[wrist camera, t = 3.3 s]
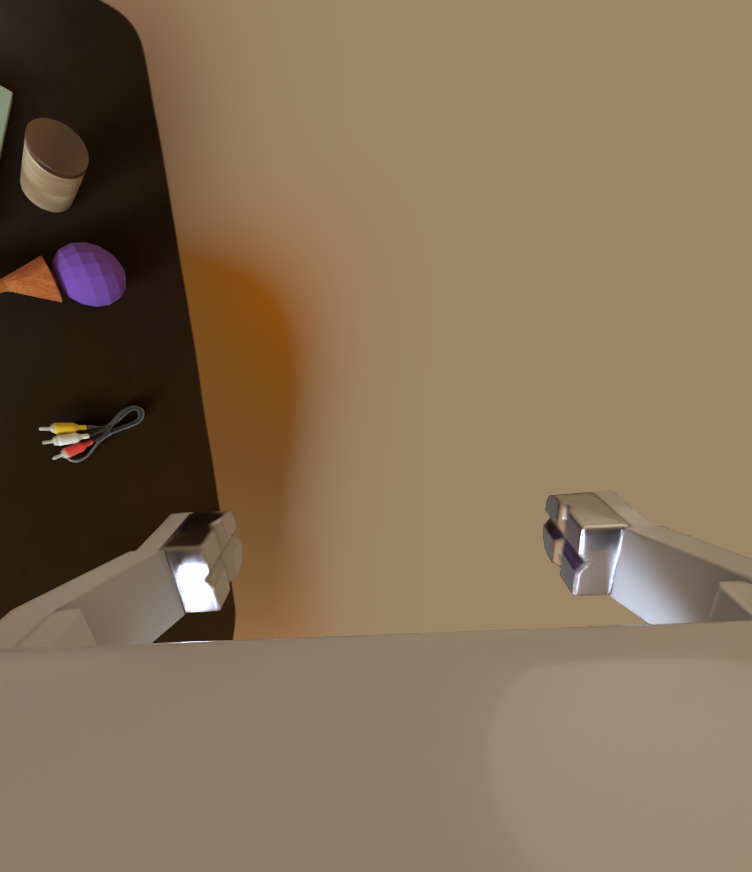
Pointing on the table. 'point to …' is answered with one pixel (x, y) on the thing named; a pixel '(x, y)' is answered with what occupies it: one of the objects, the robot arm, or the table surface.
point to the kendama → (71, 276)
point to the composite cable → (87, 433)
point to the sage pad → (4, 112)
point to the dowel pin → (52, 164)
